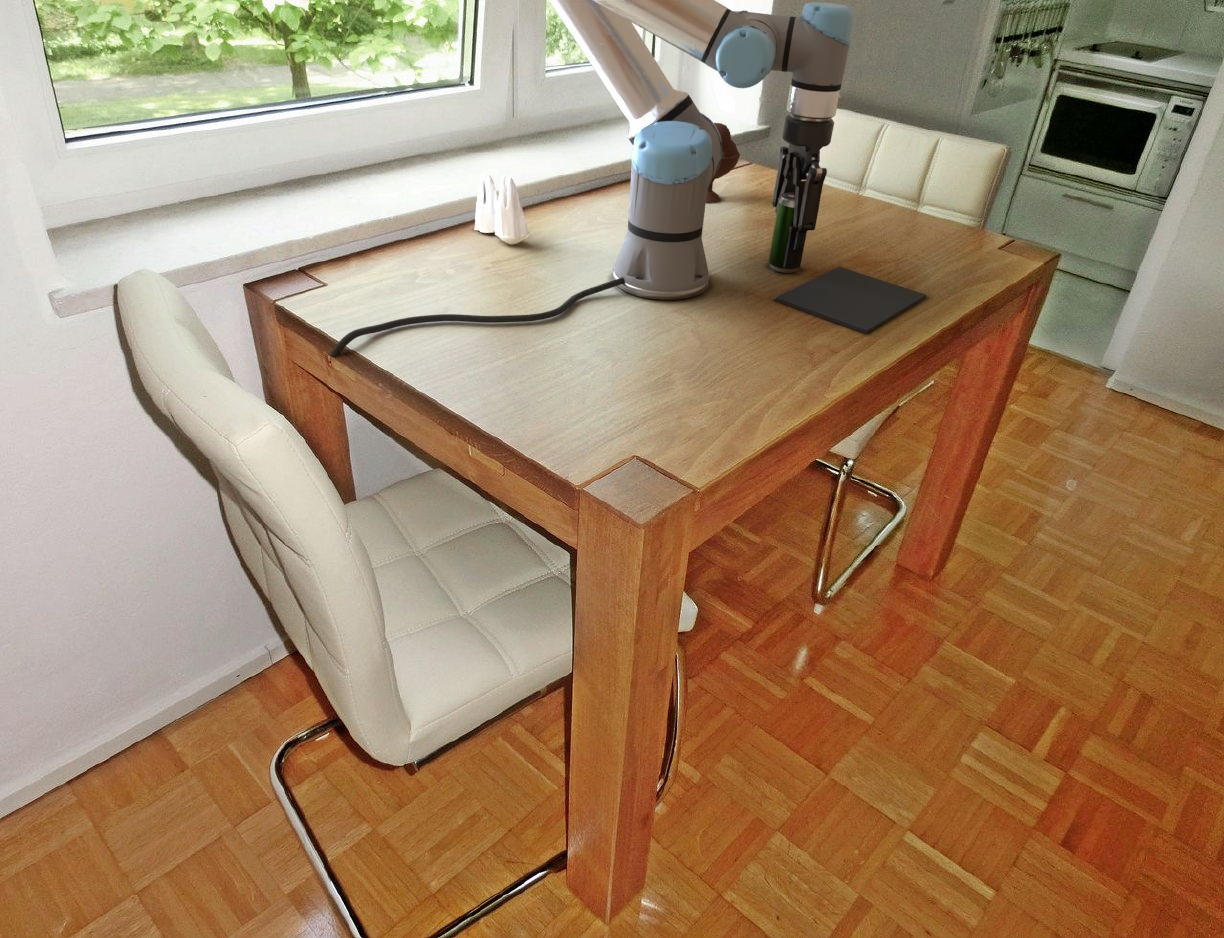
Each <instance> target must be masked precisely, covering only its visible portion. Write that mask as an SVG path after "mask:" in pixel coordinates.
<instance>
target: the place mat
mask: <svg viewBox="0 0 1224 938" xmlns="http://www.w3.org/2000/svg"><path fill="white" fill-rule="evenodd" d="M925 299H927V294H926V293H923V292H920V291H916V290H914V289H911V288H908V287H905V286H901V285H898V284H896V283H892V282H888V281H886V280H882V279H879V278H876V277H873V276H870V275H867V274H864V273H861V272H858V271H855V270H852V269H849V268H845V267H843V266H837V267H835V268H833V269H831V270H829V271H827V272H824V273H823V274H820V275H819V276H816V277H814V278H813V279H811V280H808V281H806V282H804V283H802V284H800V285H798V286H796V287H794V288H792V289H789V290H787V291H785V292H783V293H781V294H779V295H777V296H775V298H774V301H775V302H777V303H780V304H783V305H786V306H788V307H791V308H793V309H796V310H800V311H801V312H805V313H808V314H810V315H812V316H816V317H819V318H821V319H825V320H827V321H829V322H832V323H835V324H838V325H840V326H844V327H846V328H849V329H851V330H854V331H857V332H860V333H862V334H865V335H867V334H868V333H870V332H872V331H873V330H875V329H876V328H878V327H880V326H882V325H883V324H885V323H888V322H889V321H890V320H891V319H893V318H895V317H896V316H898V315H900V314H902V313H903V312H905V311H907V310H908V309H910V308H912V307H913V306H915V305H917V304H918V303H921V301H924V300H925Z"/></svg>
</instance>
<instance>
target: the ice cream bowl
mask: <svg viewBox="0 0 1224 938" xmlns="http://www.w3.org/2000/svg"><path fill="white" fill-rule="evenodd" d="M713 123H714V124H715V126H716V127H717V129H718V131H719V134H720V137H721V141H722V158H721V163H720V166H719V169H718V171H717V173H716V174H715V176H714V177H713V178H712V181H711V183H710V185H709V187H708V189H707V195H706V204H715V203H718V202H720V201H721V197H720V195H719V194H717V193H716V192H715V190H713V187H714V186H713V185H714V182H715V180H717V179H720V178H722V177H725V175H727V174H729V173H730V172H732V170H734V169H735V168H736V166H737V164H738V163H739V159H740V156H741V153H740V152H739V150H738V147H737V144H736V143H735V142H734V141H733V140H732V135H731V131H730V128H729V127H728V126H727V125H726V124H724V123H720V122H713Z"/></svg>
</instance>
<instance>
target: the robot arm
mask: <svg viewBox="0 0 1224 938" xmlns="http://www.w3.org/2000/svg"><path fill="white" fill-rule="evenodd" d="M548 1H549V2H550V4H551V6H552V8H553V9H554V10H555V12H556V13H557V15H558V16H559V18H560V19H561V21H562V23H563V24H564V25H565V27H566V28H567V30H568V31H569V33H570V35H571V36H572V38H573V40H575V42H576V44H577V45H578V48H580V50H581V51H582V53H583V54H584V56H585V57H586V59H587V61H588V62H589V63H590V65H591V67H592V68H593V70H594V71H595V73H596V74H597V76H598V77H599V79H600V80H601V82H602V83H603V84H604V86H605V88H606V89H607V91H608V93H609V94H610V96H611V97H612V99H613V100H614V101H615V103H616V104H617V105H616V106H618V107H619V109H620V111H621V112H622V113H623V115H624V117H625V118H626V120H627V121H628V126H629V127H628V133H627V139H628V140H629V142H630V143H631V145H632V148H631V151H630V158H631V170H630V185H629V187H630V188H629V201H628V203H629V204H628V217H627V218H628V219H627V230H626V235H625V237H624V240H623V242H622V245H621V247H620V250H619V252H618V254H617V257H616V260H615V261H614V266H613V273H612V280H610V281H606V282H604V283H601V284H599V285H595V286H592V287H590V288H586V289H584V290H582V291H579V292H577V293H575V294H573V295H572V296H570V297H569V298H567V300H565V301H564V302H563V304H561V305H560V306H558V307H557V308H554V309H551V310H547V311H543V312H539V313H538V312H537V313H530V314H518V315H517V314H514V315H511V314H510V315H509V314H507V315H476V314H475V315H474V314H460V313H459V314H457V313H455V314H454V313H443V314H442V313H441V314H426V315H417V316H409V317H403V318H399V319H398V318H397V319H395V320H391V321H387V322H383V323H379V324H375V325H369V326H363V327H361V328H357V329H354V330H352V331H350V332H349V333H347V334H346V335H344V336H343V337H342V338H341V339H340V340H339V341H338V342H337V344H336V345H335V346H334V348H333V349H332V351H331V352H330V355H329V357H330V358H337V357H339V356H340V355H341V353H342V352H343V351H344V350H345V348H346V347H347V346H348V345H349V344H350V343H351V342H352V341H354V340H355V339H358V338H359V337H362V336H365V335H370V334H375V333H380V332H384V331H388V330H391V329H396V328H399V327H405V326H408V325H414V324H425V323H437V322H466V323H481V324H483V323H485V324H494V323H495V324H498V323H500V324H501V323H527V322H536V321H542V320H548V319H551V318H554V317H557V316H559V315H561V314H563V313H565V312H567V310H568V309H570V308H571V307H572V306H573V305H574V304H575V303H576V302H578V301H580V300H581V299H584V298H585V297H588V296H592V295H594V294H597V293H601V292H604V291H606V290H609V289H612V288H615V287H618V288H619V289H621V290H622V291H624V292H626V293H628V294H631V295H633V296H636V297H640V298H645V299H650V300H658V301H659V300H661V301H677V300H685V299H690V298H694V297H696V296H699V295H702V293H704V292H705V291H706V290H707V289H708V285H709V275H710V274H709V268H708V264H707V258H706V253H705V248H704V247H705V246H704V243H703V236H702V235H703V228H704V220H705V211H706V204H707V203H706V195H707V189H708V187H709V185H710V183H711V181H712V178H713V177H714V176H715V174H716V173H717V171H718V169H719V166H720V163H721V158H722V141H721V137H720V134H719V131H718V129H717V127H716V126H715V124H714V123H715V122H714V121H712V119H711V118H709V117H708V116H707V115H706V114H704V113H703V112H700V110H699V108H698V107H697V105H696V104H695V102H694V101H693V99H692V97H691V95H690V94H689V93H688V92H687V91H682V90H677V89H675V88H673V86H672V84H671V83H670V81H669V80H668V78H667V77H666V75H665V73H664V72H663V70H662V69H661V67H660V65H659V63H658V61H656V58H655V57H654V55H653V54H652V52H651V51H650V49H649V48H648V46H647V45H646V43H645V41H644V40H643V38H642V37H641V35H640V33H639V32H638V30H637V28H636V27H635V26H637V27H639V28H640V29H643V30H645V31H646V32H648V33H649V34H652V35H653V36H655V37H657V38H659V39H660V40H662V41H663V42H666V43H668V44H669V45H670V46H673V47H675V48H676V49H678V50H680V51H681V52H684V53H685V54H687V55H689V56H691V57H693V58H694V59H696V60H698V61H699V62H701V63H703V64H705V65H706V67H709V68H711V69H712V70H714V71H716V72H718V75H719V76H720V77H721V79H722V80H723V81H724V82H725V83H726V84H727V85H729V86H730V87H734V88H737V89H748V88H752V87H754V86H756V85H758V84H760V83H761V81H763V80H764V79H765V78H766V77H767V75H769V74H771V71H776V72H783V73H792V77H791V82H790V84H789V91H788V97H787V103H786V109H785V110H786V111H787V113H788V114H787V115H786V116H785V118H784V125H783V130H782V140H783V141H784V142H785V143H787V144H789V145H788V146H780V149H779V163H778V167H777V173H776V179H775V185H774V191H773V195H772V201H771V205H772V208H775V215H776V214H777V208H778V202H779V200H780V198H781V194H783V193H786V192H795V206H794V221H793V227H789V230H790V231H789V237H788V242H787V248H786V254H785V259H784V265H783V267H784V268H798V269H800V268H801V265H802V260H803V255H804V250H805V249H804V248H805V243H806V239H807V233H808V231H815V230H816V226H817V219H818V215H819V209H820V203H821V198H822V192H823V186H824V182H825V180H826V177H827V174H828V169H827V168H826V167H821V166H820V161H821V150H822V148H825V147H828V146H829V145H830V144H831V141H832V136H833V132H834V128H835V127H834V126H835V121H834V120H833V118H834V117H835V116H836V114H837V109H838V104H839V101H840V100H841V98H842V95H841V89H842V84H843V80H844V74H845V69H846V64H847V60H848V55H849V50H850V45H851V40H852V39H851V38H852V32H853V26H854V25H853V24H854V18H855V15H854V12H853V10H852V8H850V7H849V6H847V5H844V4H840V3H832V2H817V1H812V2H807V3H805V5H803V9H802V12H801V13H800V15H795V16H794V15H793V16H789V15H778V14H772V13H771V14H770V13H760V12H752V11H748V10H731V9H729V8H728V7H727V6H725V5H723V4H722V3H720V2H718V1H716V0H548Z"/></svg>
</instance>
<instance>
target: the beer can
mask: <svg viewBox="0 0 1224 938" xmlns="http://www.w3.org/2000/svg"><path fill="white" fill-rule="evenodd" d="M794 206H795V192H786V193H783V194H781V198H780V200H779V202H778V208H777V214H776V213H775V220H774V227H773V233H772V240H771V244H770V252H769V256H768V265H769V268H771V270H773V271H776V272H779V273H785V274H789V273H795V272H798V270H799V268H784V267H783V265H784V259H785V254H786V248H787V242H788V237H789V231H790V230H789V227H793V221H794Z"/></svg>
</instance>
